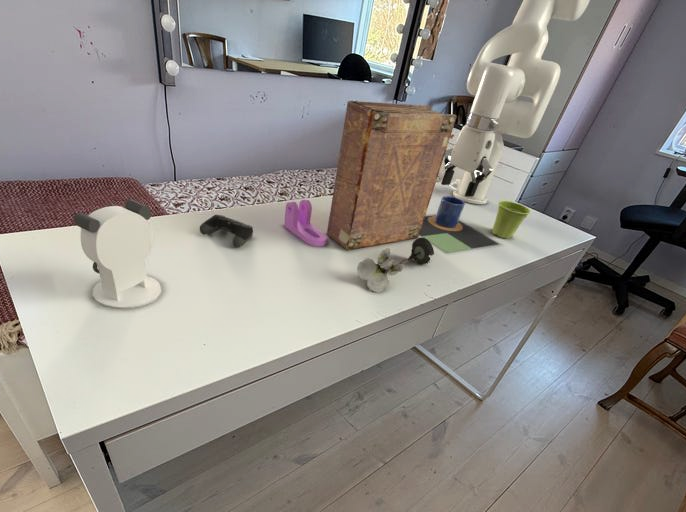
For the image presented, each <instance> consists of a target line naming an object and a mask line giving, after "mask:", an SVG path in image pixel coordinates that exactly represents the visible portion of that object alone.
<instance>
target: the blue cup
mask: <svg viewBox="0 0 686 512" xmlns="http://www.w3.org/2000/svg"><path fill="white" fill-rule="evenodd" d="M465 206H466V202H465V201H462V200H460V199H458V198H456V197H455V196H450V195H449V196H448V195H446V196H445V195H444V196H442V197H441V199H440V203H439V205H438V208H437V211H436V214H435V215H436V217H435V220H434V222H435V223H436V224H438V225H440V226H442V227H446V228H455V227H456V226H457V223H458V221H460V218H461V216H462V213H463V210H464V207H465Z"/></svg>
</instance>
